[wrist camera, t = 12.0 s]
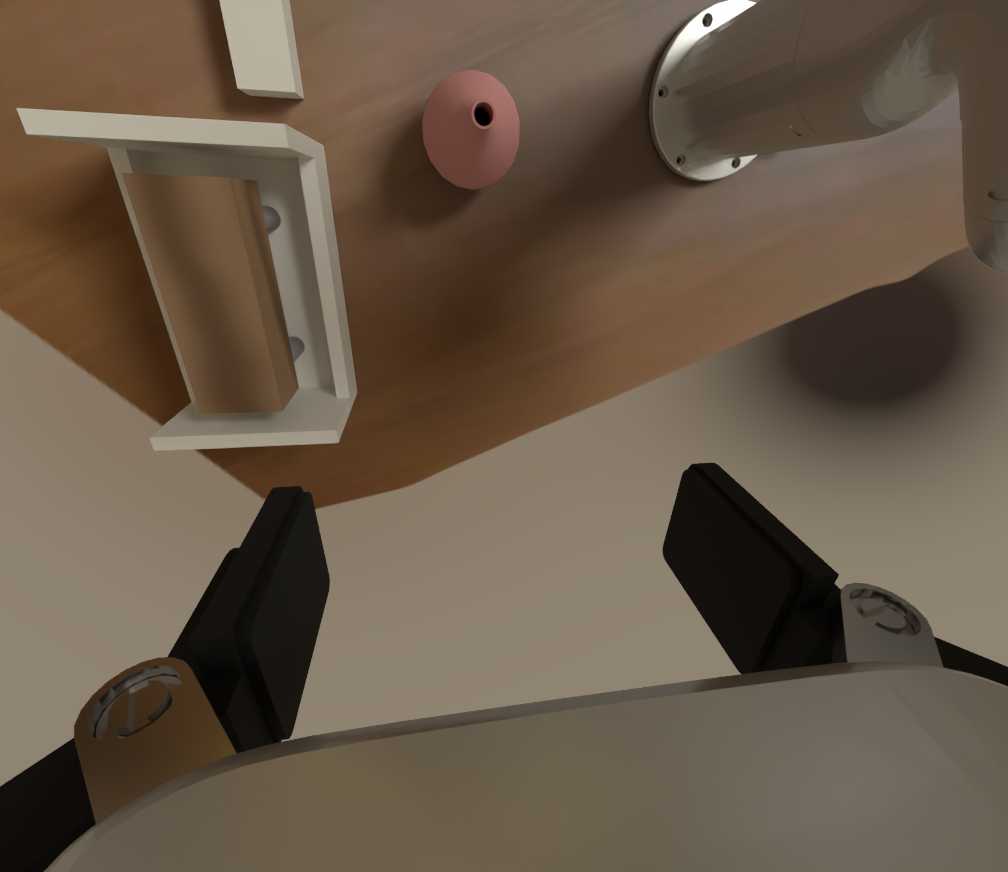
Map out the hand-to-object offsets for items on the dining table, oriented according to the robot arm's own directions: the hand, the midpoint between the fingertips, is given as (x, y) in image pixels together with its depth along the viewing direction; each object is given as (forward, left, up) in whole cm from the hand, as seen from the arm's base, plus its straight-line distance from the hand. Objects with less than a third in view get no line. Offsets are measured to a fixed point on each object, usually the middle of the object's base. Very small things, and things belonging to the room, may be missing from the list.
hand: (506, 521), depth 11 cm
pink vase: (-2, -12, -36) cm, 38 cm away
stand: (+17, 0, -36) cm, 40 cm away
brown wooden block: (+17, 0, -30) cm, 34 cm away
